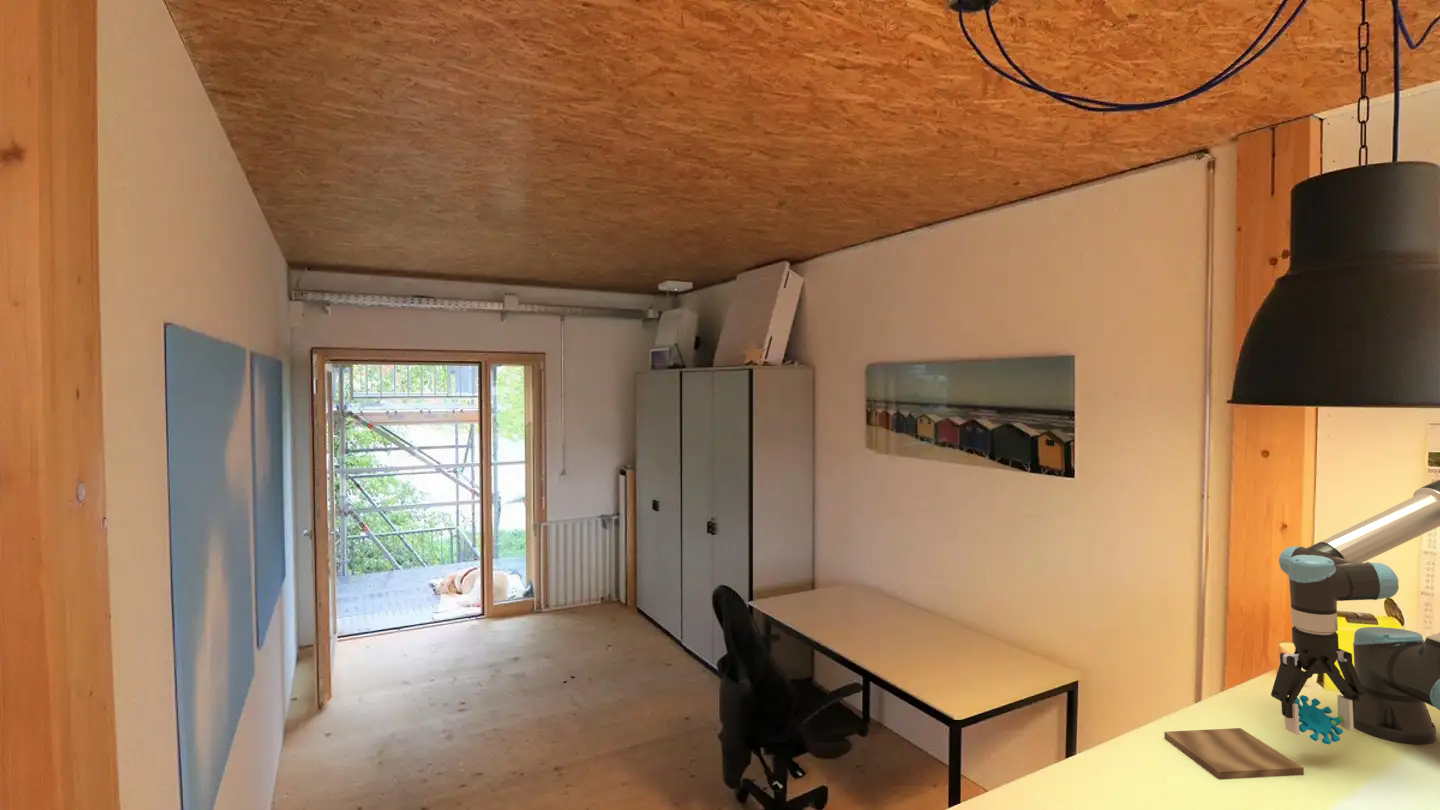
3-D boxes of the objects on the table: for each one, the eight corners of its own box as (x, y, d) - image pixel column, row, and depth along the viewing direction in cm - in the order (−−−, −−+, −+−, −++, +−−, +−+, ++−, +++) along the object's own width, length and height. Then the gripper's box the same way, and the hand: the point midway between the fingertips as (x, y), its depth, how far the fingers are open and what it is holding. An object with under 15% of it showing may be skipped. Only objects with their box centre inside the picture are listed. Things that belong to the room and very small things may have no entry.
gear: (1306, 740, 144) (1282, 692, 151) (1288, 749, 148) (1266, 702, 155) (1360, 744, 144) (1334, 696, 151) (1340, 754, 148) (1316, 706, 155)
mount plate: (1240, 734, 160) (1240, 728, 160) (1303, 774, 143) (1303, 767, 143) (1164, 738, 160) (1164, 731, 160) (1218, 779, 143) (1218, 772, 143)
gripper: (1351, 619, 151) (1356, 717, 152) (1246, 626, 151) (1251, 725, 151) (1385, 631, 144) (1390, 734, 144) (1275, 638, 143) (1280, 742, 144)
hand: (1319, 729), depth 148 cm, fingers closed on gear, 11 cm apart
